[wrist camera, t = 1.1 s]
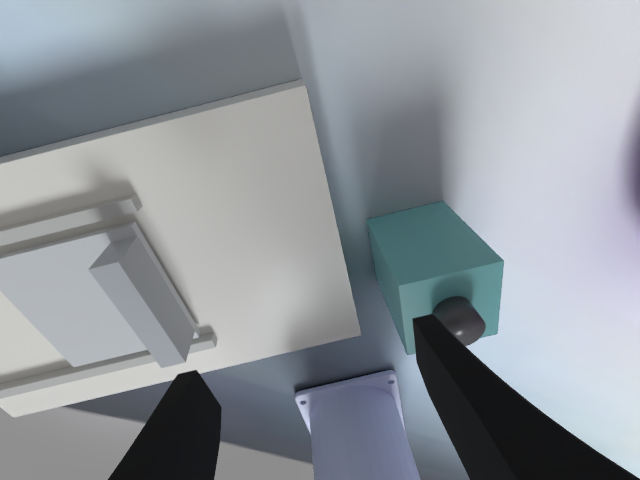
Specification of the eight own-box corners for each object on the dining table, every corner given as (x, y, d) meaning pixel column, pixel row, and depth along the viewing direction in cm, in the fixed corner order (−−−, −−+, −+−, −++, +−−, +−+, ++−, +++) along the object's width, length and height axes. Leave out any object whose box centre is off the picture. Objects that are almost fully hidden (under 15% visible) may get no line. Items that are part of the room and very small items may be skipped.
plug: (444, 262, 21) (512, 354, 15) (376, 278, 21) (415, 376, 15) (442, 200, 19) (522, 278, 13) (366, 219, 19) (408, 305, 13)
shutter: (200, 331, 18) (190, 369, 16) (77, 361, 18) (51, 401, 16) (135, 221, 14) (111, 251, 12) (-18, 259, 15) (-67, 295, 13)
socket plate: (353, 306, 22) (363, 343, 19) (10, 388, 23) (-25, 434, 20) (301, 78, 15) (306, 87, 12) (-201, 209, 15) (-301, 243, 13)
